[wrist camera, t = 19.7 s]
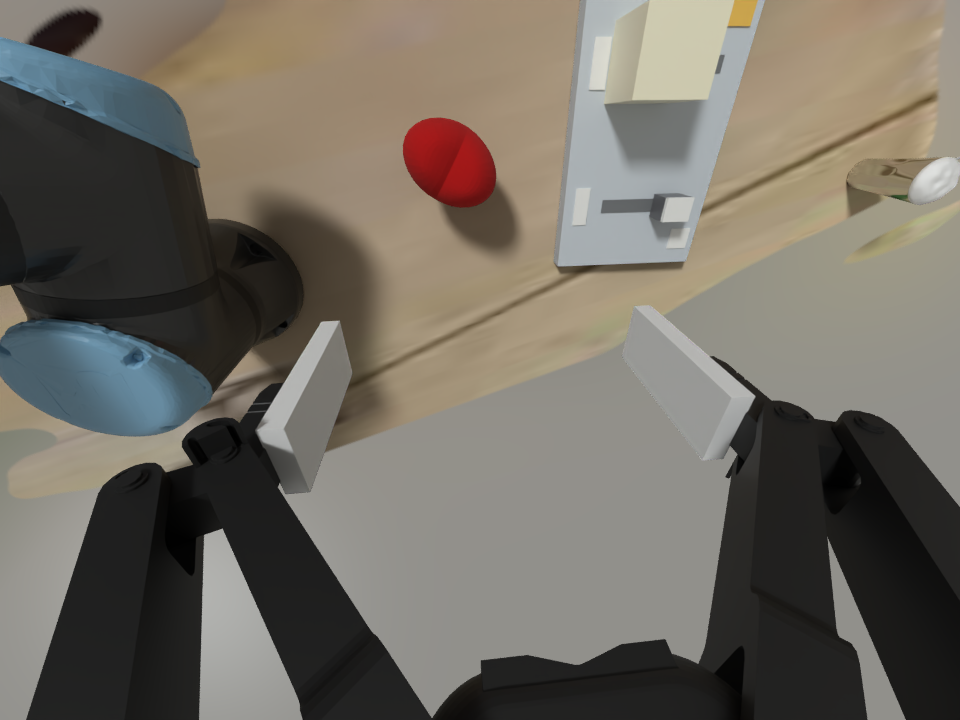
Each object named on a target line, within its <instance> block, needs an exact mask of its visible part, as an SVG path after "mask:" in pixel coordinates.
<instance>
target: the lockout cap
mask: <svg viewBox="0 0 960 720" xmlns="http://www.w3.org/2000/svg"><path fill="white" fill-rule="evenodd" d="M734 1H735V0H648V1H647V2H645V3H644V4H642V5H640V6H639V7H637V8H636V9H634V10H632V11H631V12H629V13H628V14H626V15H624V16H623V17H621V18H620V19H618V20H616V23H615V30H614V37H613V44H612V51H611V58H610V64H609V71H608V78H607V85H606V92H605V99H604V104H656V103H677V102H688V101H698V100H708V97H709V93H710V89H711V86H712V82H713V78H714V75H715V71H716V67H717V64H718V60H719V56H720V52H721V49H722V45H723V41H724V38H725V34H726V30H727V26H728V23H729V19H730V15H731V12H732V8H733V4H734Z"/></svg>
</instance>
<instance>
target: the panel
mask: <svg viewBox="0 0 960 720" xmlns="http://www.w3.org/2000/svg"><path fill="white" fill-rule="evenodd" d="M647 1H648V0H580V6H579V16H578V26H577V36H576V46H575V55H574V65H573V75H572V85H571V95H570V105H569V115H568V125H567V134H566V144H565V154H564V164H563V174H562V184H561V194H560V203H559V213H558V223H557V233H556V243H555V253H554V263H555V264H556V265H557V266H582V265H607V264H631V263H656V262H680V261H686V259H687V256H688V252H689V249H690V246H691V243H692V239H693V236H694V233H695V229H696V226H697V223H698V219H699V216H700V213H701V210H702V206H703V203H704V200H705V196H706V193H707V190H708V186H709V183H710V180H711V177H712V173H713V170H714V167H715V163H716V160H717V157H718V153H719V150H720V147H721V144H722V140H723V137H724V134H725V130H726V127H727V124H728V120H729V117H730V114H731V111H732V107H733V104H734V101H735V97H736V94H737V91H738V88H739V84H740V81H741V78H742V74H743V71H744V68H745V64H746V61H747V58H748V55H749V51H750V48H751V45H752V41H753V38H754V35H755V31H756V28H757V25H758V22H759V18H760V15H761V12H762V8H763V5H764V2H765V0H735V1H734V4H733V8H732V12H731V15H730V19H729V23H728V26H727V30H726V34H725V38H724V41H723V45H722V49H721V52H720V56H719V60H718V64H717V67H716V71H715V75H714V78H713V82H712V86H711V89H710V93H709V97H708V100H698V101H688V102H677V103H656V104H604V99H605V92H606V85H607V78H608V71H609V64H610V58H611V51H612V44H613V37H614V30H615V23H616V20H618V19H620V18H621V17H623V16H624V15H626V14H628V13H629V12H631V11H632V10H634V9H636V8H637V7H639V6H640V5H642V4H644V3H645V2H647ZM667 193H680V194H684V195H687V196H691V197H694V198H695V199H694V202H693V206H692V209H691V212H690V216H689V219H688V222H660V221H658V220H656V219H654V218H651V217H649V215H650V211H651V207H652V202H653V198H654V194H667Z"/></svg>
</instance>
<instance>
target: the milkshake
mask: <svg viewBox="0 0 960 720" xmlns="http://www.w3.org/2000/svg"><path fill="white" fill-rule="evenodd" d="M959 159H960V157H956V158H951V157H933V158H909V159H864V160H862V161H860V162H859V163H857V164H856V165H855V166H854V167H853V168H852V170H851V171H850V172H849V174H848V178H847V183H848V185H849V187H852V188H856V189H860V190H864V191H868V192H872V193H876V194H880V195H884V196H888V197H892V198H895V199H899V200H902V201H906V202H909V203H913V204H917V205H922V204H926V203H931V202H934V201H936V200H938V199H940V198H941V197H943V196H944V195H945V194H947V193H948V192H949V191H951V190H952V189H953V188H954V187H955V186H956V185H957V181H958V178H959V176H960V163H959V162H958V160H959Z"/></svg>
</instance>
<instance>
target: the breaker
mask: <svg viewBox="0 0 960 720" xmlns="http://www.w3.org/2000/svg"><path fill="white" fill-rule="evenodd" d="M694 199H695V198H694V197H691V196H687V195H684V194H680V193H667V194H654V198H653V202H652V207H651V211H650V215H649V217H651V218H654V219H656V220H658V221H660V222H688V219H689V216H690V212H691V209H692V206H693V202H694Z"/></svg>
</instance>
